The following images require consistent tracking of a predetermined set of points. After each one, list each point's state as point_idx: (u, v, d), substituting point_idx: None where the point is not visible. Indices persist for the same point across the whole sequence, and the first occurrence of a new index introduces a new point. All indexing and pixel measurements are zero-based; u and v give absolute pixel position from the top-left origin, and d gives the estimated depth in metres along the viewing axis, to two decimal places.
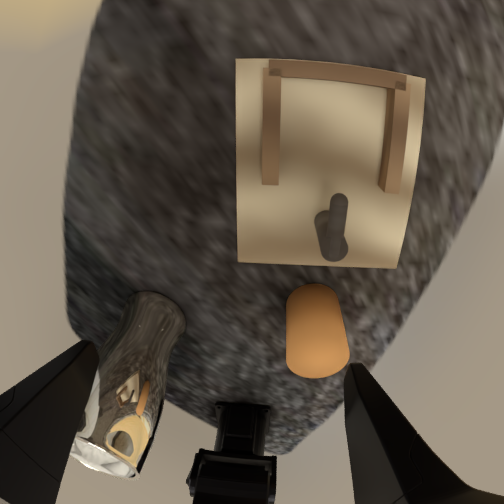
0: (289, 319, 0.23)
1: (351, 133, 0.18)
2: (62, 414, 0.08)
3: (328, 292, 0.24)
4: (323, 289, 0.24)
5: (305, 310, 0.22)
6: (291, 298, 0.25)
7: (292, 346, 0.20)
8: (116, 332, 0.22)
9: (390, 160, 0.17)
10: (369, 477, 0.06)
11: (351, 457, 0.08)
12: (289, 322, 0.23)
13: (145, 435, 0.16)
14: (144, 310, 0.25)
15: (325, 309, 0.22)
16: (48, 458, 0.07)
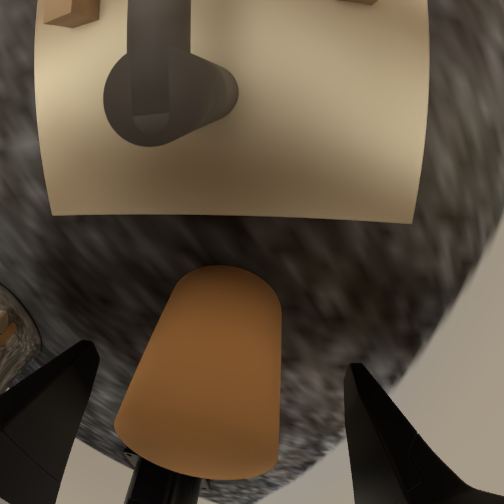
0: None
1: None
2: (62, 414, 0.08)
3: (247, 284, 0.10)
4: (236, 279, 0.10)
5: (171, 326, 0.09)
6: (170, 296, 0.11)
7: (116, 416, 0.07)
8: None
9: None
10: (369, 477, 0.06)
11: (351, 457, 0.08)
12: None
13: None
14: None
15: (220, 327, 0.08)
16: (48, 458, 0.07)
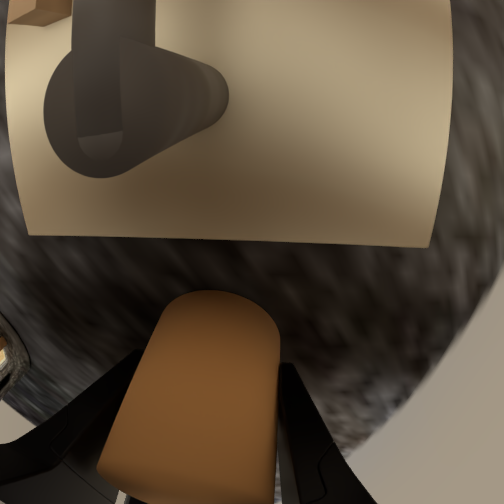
0: (133, 378, 0.08)
1: None
2: None
3: (241, 313, 0.09)
4: (229, 307, 0.09)
5: (155, 365, 0.07)
6: None
7: (98, 463, 0.05)
8: None
9: None
10: (286, 481, 0.06)
11: (279, 459, 0.08)
12: None
13: None
14: None
15: (209, 368, 0.07)
16: (105, 481, 0.06)
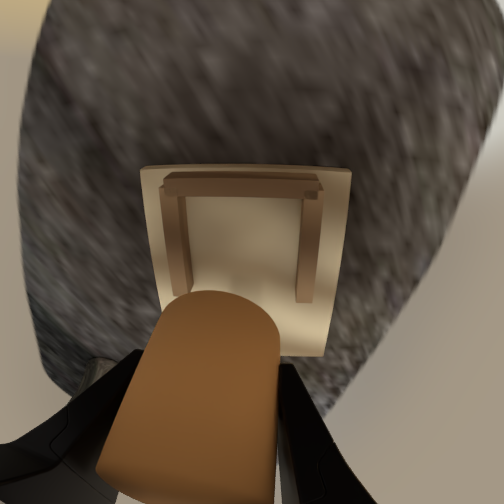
0: None
1: (262, 241, 0.19)
2: None
3: (241, 313, 0.09)
4: (229, 307, 0.09)
5: (155, 365, 0.07)
6: (156, 324, 0.10)
7: (97, 465, 0.05)
8: (76, 396, 0.23)
9: (300, 273, 0.18)
10: (286, 481, 0.06)
11: (279, 459, 0.08)
12: (128, 387, 0.08)
13: None
14: (99, 377, 0.25)
15: (209, 369, 0.07)
16: None
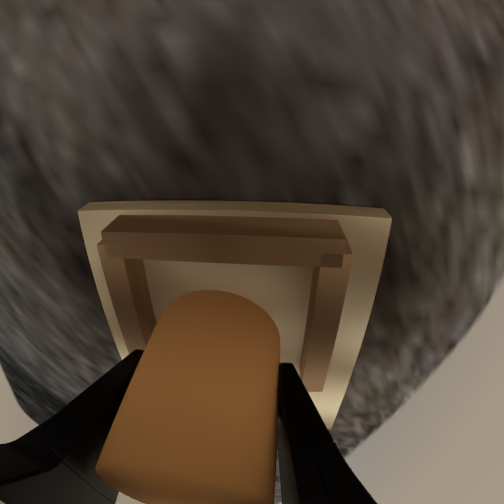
0: None
1: None
2: None
3: (241, 313, 0.09)
4: (229, 307, 0.09)
5: (154, 365, 0.07)
6: (156, 324, 0.10)
7: None
8: None
9: (308, 360, 0.12)
10: (286, 481, 0.06)
11: (279, 459, 0.08)
12: None
13: None
14: None
15: (209, 369, 0.07)
16: None
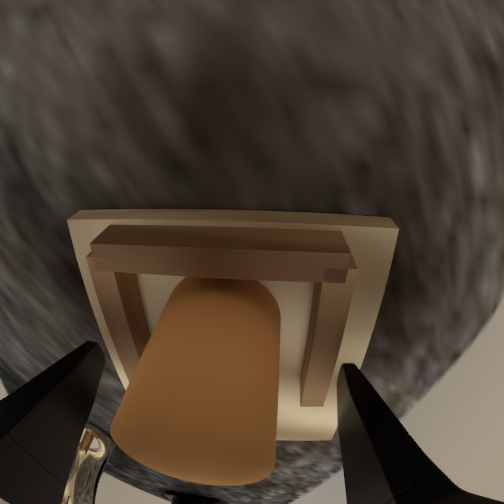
0: None
1: None
2: (68, 416, 0.08)
3: (245, 289, 0.10)
4: (234, 283, 0.10)
5: (168, 332, 0.08)
6: (167, 301, 0.11)
7: (112, 423, 0.06)
8: None
9: (309, 376, 0.11)
10: (360, 478, 0.06)
11: (343, 458, 0.08)
12: None
13: None
14: None
15: (217, 333, 0.08)
16: (54, 461, 0.07)
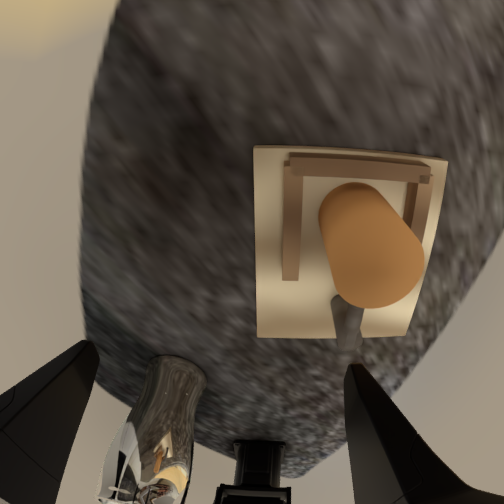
0: (328, 222, 0.16)
1: None
2: (62, 414, 0.08)
3: (375, 190, 0.17)
4: (369, 187, 0.17)
5: (352, 204, 0.15)
6: (326, 201, 0.17)
7: (343, 245, 0.13)
8: (144, 399, 0.23)
9: None
10: (369, 477, 0.06)
11: (351, 457, 0.08)
12: (329, 225, 0.15)
13: (181, 494, 0.17)
14: (168, 376, 0.25)
15: (379, 202, 0.15)
16: (48, 458, 0.07)
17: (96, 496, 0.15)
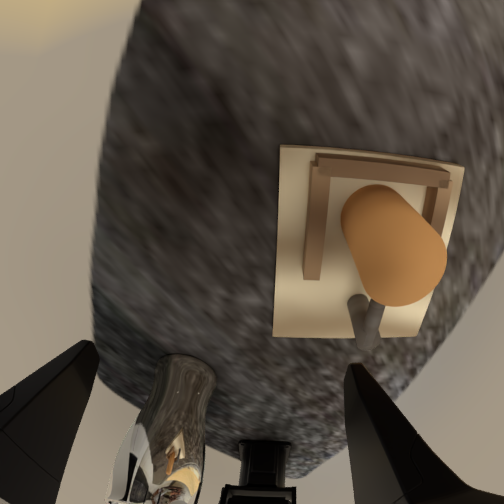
0: (354, 222, 0.16)
1: None
2: (62, 414, 0.08)
3: (397, 193, 0.17)
4: (391, 189, 0.17)
5: (377, 204, 0.15)
6: (350, 202, 0.17)
7: (372, 243, 0.13)
8: (155, 399, 0.23)
9: None
10: (369, 477, 0.06)
11: (351, 457, 0.08)
12: (355, 224, 0.15)
13: (195, 494, 0.17)
14: (179, 375, 0.25)
15: (403, 203, 0.15)
16: (48, 458, 0.07)
17: (107, 498, 0.14)
